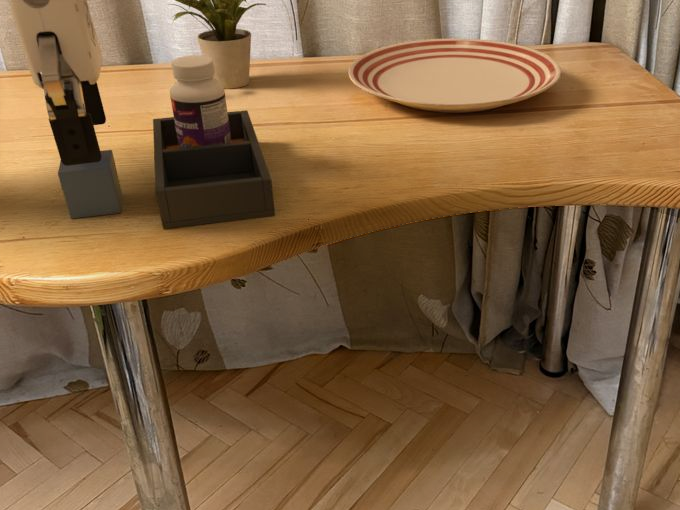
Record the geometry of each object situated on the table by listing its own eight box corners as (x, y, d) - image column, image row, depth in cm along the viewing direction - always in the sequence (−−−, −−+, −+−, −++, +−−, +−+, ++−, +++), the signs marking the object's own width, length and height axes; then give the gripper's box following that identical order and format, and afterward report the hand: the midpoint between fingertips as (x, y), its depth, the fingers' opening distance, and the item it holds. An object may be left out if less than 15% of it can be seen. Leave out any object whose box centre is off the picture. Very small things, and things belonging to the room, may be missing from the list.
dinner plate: (509, 141, 83) (512, 112, 81) (308, 103, 94) (306, 77, 92) (585, 77, 102) (589, 52, 100) (411, 52, 113) (411, 29, 111)
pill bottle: (170, 156, 78) (152, 61, 72) (212, 142, 81) (198, 50, 75) (201, 170, 75) (185, 71, 69) (243, 155, 78) (231, 59, 72)
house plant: (208, 62, 110) (190, -63, 100) (296, 69, 106) (286, -60, 97) (159, 91, 99) (133, -46, 89) (255, 99, 95) (239, -42, 86)
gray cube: (70, 219, 68) (57, 172, 66) (74, 198, 72) (61, 154, 69) (121, 213, 69) (110, 167, 66) (122, 193, 73) (111, 149, 70)
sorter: (163, 229, 66) (155, 192, 64) (159, 151, 82) (152, 118, 79) (275, 215, 68) (271, 179, 66) (251, 141, 84) (247, 110, 81)
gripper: (68, -64, 51) (127, 173, 61) (84, -90, 64) (130, 108, 74) (-50, -56, 49) (30, 185, 59) (-9, -84, 63) (51, 116, 73)
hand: (86, 142), depth 67 cm, fingers open, 9 cm apart
